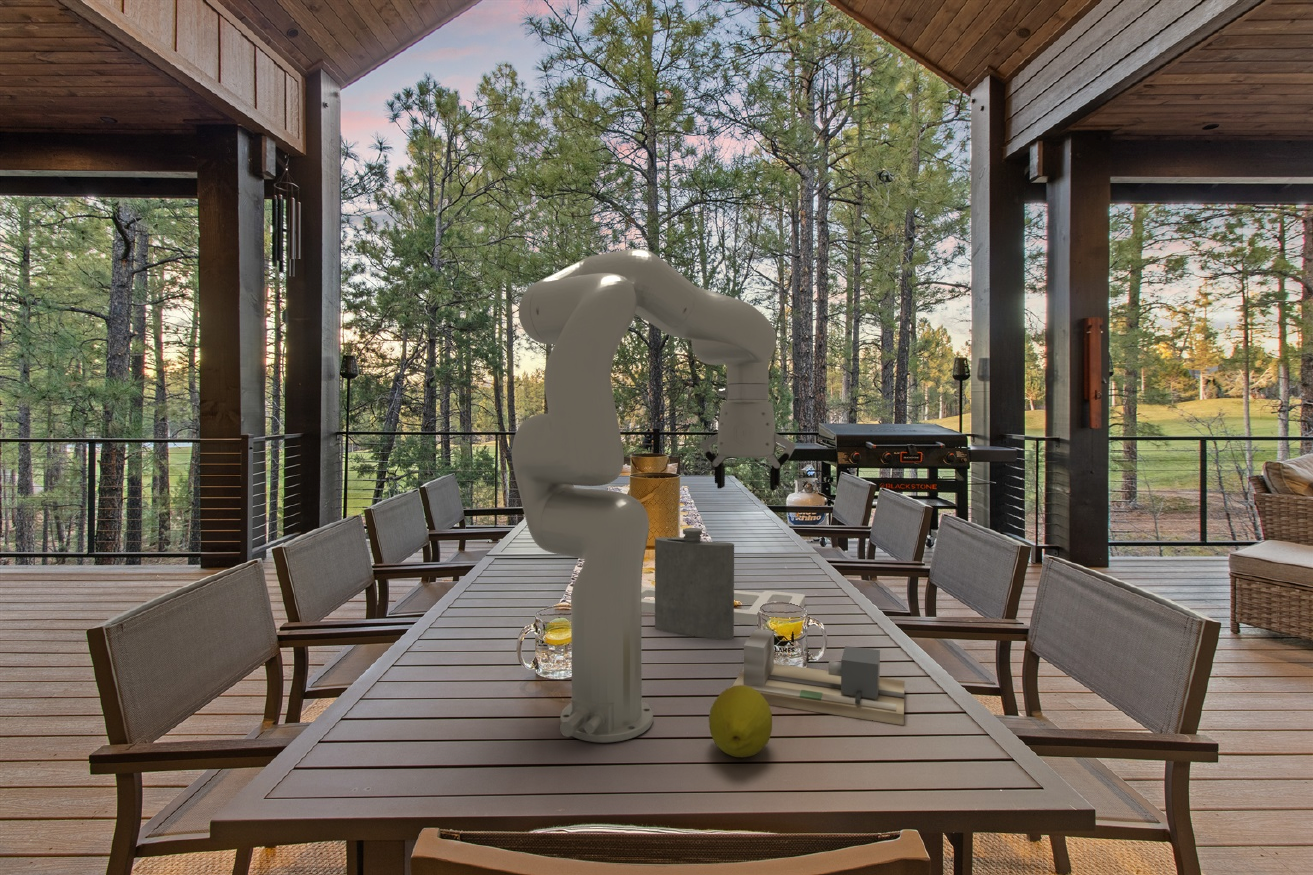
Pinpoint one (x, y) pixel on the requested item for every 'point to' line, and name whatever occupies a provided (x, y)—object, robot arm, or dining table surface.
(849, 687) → the block
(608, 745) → the dining table surface
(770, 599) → the holder
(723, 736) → the lemon
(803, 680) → the track board
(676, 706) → the dining table surface
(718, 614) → the hip flask
